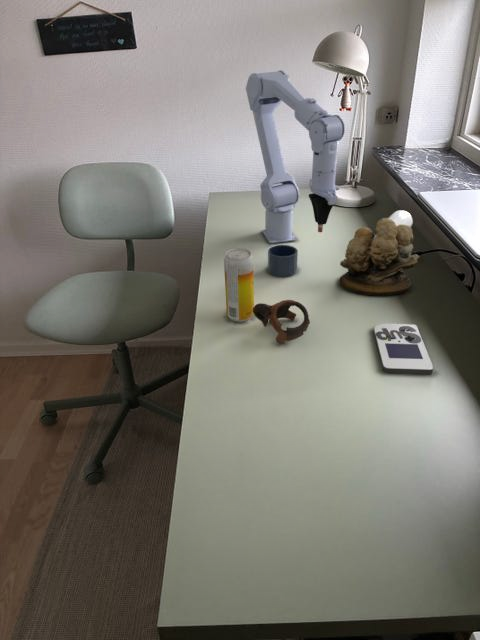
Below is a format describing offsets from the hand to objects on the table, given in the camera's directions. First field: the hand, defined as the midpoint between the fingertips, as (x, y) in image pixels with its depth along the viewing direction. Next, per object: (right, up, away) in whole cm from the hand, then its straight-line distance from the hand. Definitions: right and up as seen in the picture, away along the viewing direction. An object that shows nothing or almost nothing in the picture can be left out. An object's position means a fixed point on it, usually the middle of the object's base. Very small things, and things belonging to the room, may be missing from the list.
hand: (320, 222), depth 125 cm
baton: (0, -2, +1) cm, 2 cm away
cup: (-10, -12, 0) cm, 16 cm away
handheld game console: (+11, -31, -30) cm, 45 cm away
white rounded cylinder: (+18, -4, +7) cm, 20 cm away
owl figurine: (+12, -17, -7) cm, 22 cm away
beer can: (-21, -24, -18) cm, 37 cm away
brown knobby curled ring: (-12, -28, -23) cm, 38 cm away
